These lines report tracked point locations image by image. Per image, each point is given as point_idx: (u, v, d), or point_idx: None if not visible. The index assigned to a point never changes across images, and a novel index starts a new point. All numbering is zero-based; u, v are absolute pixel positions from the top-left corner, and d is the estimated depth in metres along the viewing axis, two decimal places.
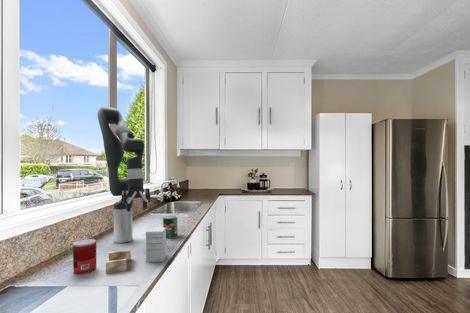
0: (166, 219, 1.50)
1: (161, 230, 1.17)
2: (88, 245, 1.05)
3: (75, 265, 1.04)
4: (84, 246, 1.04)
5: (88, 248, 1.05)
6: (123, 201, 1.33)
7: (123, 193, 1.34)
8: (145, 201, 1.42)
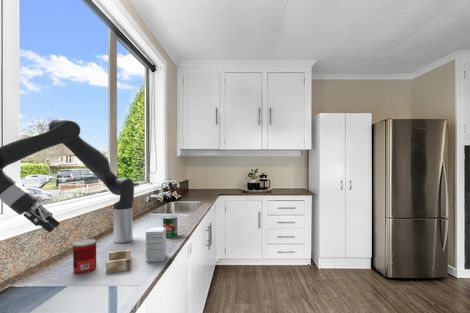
0: (166, 219, 1.50)
1: (161, 230, 1.17)
2: (88, 245, 1.05)
3: (75, 265, 1.04)
4: (84, 246, 1.04)
5: (88, 248, 1.05)
6: None
7: None
8: None
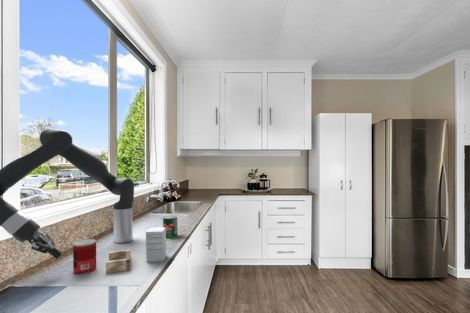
0: (166, 219, 1.50)
1: (161, 230, 1.17)
2: (88, 245, 1.05)
3: (75, 265, 1.04)
4: (84, 246, 1.04)
5: (88, 248, 1.05)
6: None
7: None
8: None
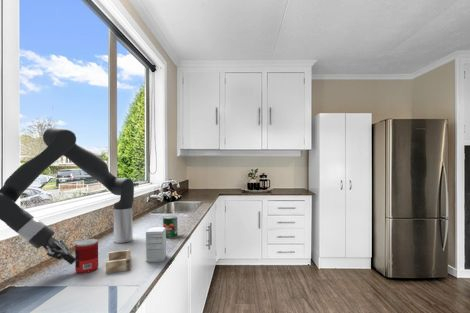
0: (166, 219, 1.50)
1: (161, 230, 1.17)
2: (90, 245, 1.06)
3: (77, 265, 1.04)
4: (86, 246, 1.05)
5: (90, 247, 1.05)
6: None
7: None
8: None
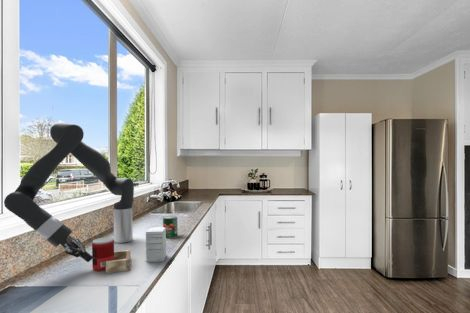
0: (166, 219, 1.50)
1: (161, 230, 1.17)
2: (107, 243, 1.08)
3: (95, 262, 1.06)
4: (104, 244, 1.07)
5: (108, 245, 1.08)
6: None
7: None
8: None
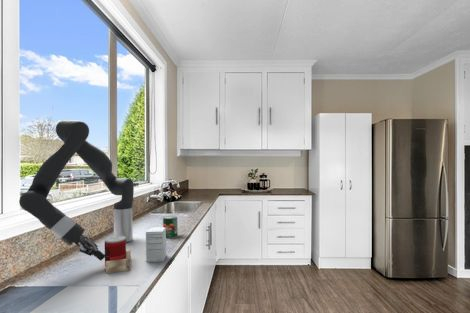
0: (166, 219, 1.50)
1: (161, 230, 1.17)
2: (120, 241, 1.09)
3: None
4: (116, 242, 1.08)
5: (120, 244, 1.09)
6: None
7: None
8: None
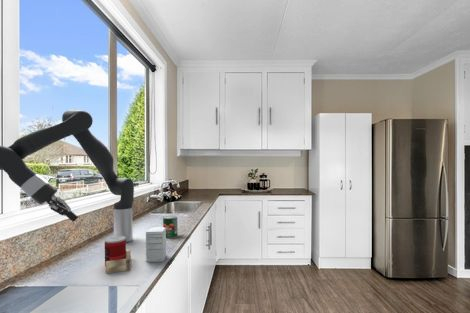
0: (166, 219, 1.50)
1: (161, 230, 1.17)
2: (120, 241, 1.09)
3: None
4: (116, 242, 1.08)
5: (120, 244, 1.09)
6: None
7: None
8: None
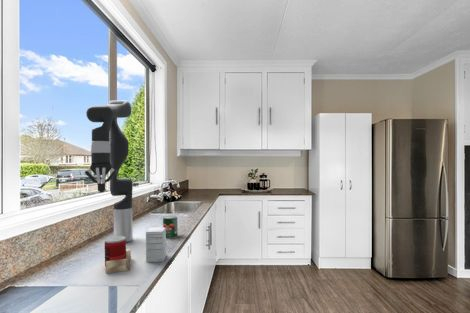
0: (166, 219, 1.50)
1: (161, 230, 1.17)
2: (120, 241, 1.09)
3: None
4: (116, 242, 1.08)
5: (120, 244, 1.09)
6: None
7: None
8: (102, 183, 1.19)
